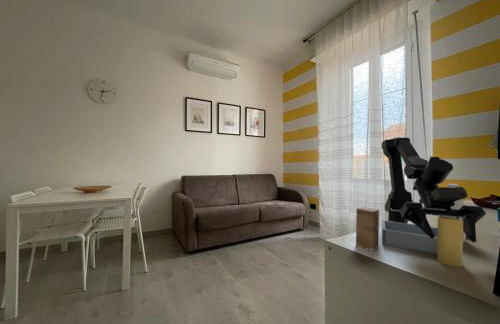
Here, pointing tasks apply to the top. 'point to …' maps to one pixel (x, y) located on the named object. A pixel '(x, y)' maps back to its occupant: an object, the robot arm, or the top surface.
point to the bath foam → (456, 206)
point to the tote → (409, 237)
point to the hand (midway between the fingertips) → (453, 239)
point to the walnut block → (367, 227)
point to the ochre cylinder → (450, 241)
